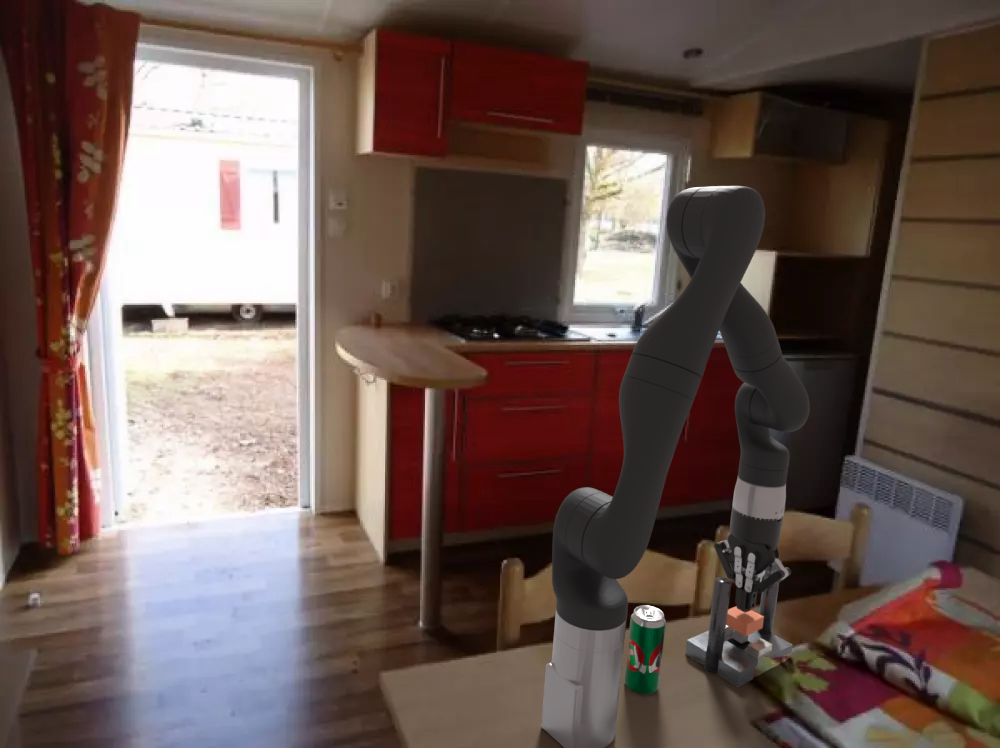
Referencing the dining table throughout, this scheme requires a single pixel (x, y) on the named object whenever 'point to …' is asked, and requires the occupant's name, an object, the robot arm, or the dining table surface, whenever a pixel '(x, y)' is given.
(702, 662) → the twin post stand
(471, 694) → the dining table surface
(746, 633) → the button
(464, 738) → the dining table surface
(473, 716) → the dining table surface
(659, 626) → the soda can
